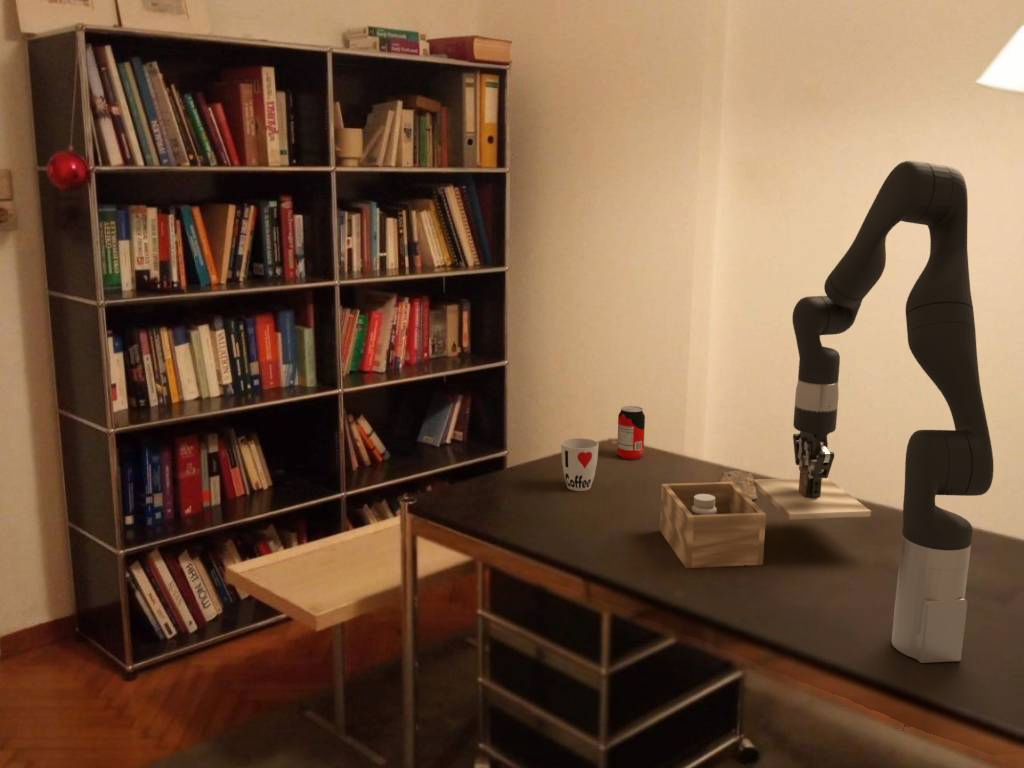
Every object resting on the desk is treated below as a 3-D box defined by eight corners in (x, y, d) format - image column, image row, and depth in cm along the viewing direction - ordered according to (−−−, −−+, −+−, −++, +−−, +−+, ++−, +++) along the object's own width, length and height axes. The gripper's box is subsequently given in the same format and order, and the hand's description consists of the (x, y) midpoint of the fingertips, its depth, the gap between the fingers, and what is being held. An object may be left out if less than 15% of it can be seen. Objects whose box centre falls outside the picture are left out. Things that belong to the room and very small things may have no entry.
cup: (556, 491, 215) (557, 446, 213) (565, 479, 223) (566, 436, 220) (593, 495, 213) (594, 450, 211) (601, 483, 220) (602, 439, 218)
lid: (870, 516, 178) (873, 484, 176) (789, 519, 176) (791, 487, 175) (826, 481, 196) (828, 452, 195) (752, 484, 194) (754, 455, 193)
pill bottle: (715, 544, 186) (717, 502, 184) (689, 542, 187) (691, 500, 185) (715, 535, 191) (717, 493, 189) (690, 533, 191) (692, 492, 190)
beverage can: (648, 458, 239) (650, 409, 236) (627, 462, 236) (629, 413, 233) (632, 451, 244) (634, 404, 241) (611, 455, 241) (613, 407, 238)
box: (762, 564, 177) (766, 514, 175) (685, 568, 175) (688, 517, 173) (729, 527, 194) (732, 481, 192) (659, 530, 193) (661, 483, 191)
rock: (711, 487, 219) (718, 494, 209) (718, 462, 218) (725, 467, 209) (749, 498, 218) (758, 505, 208) (756, 472, 218) (766, 478, 208)
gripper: (852, 413, 176) (844, 506, 179) (820, 394, 189) (813, 481, 193) (811, 414, 175) (804, 507, 179) (782, 395, 188) (776, 482, 192)
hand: (809, 493), depth 186 cm, fingers closed on lid, 3 cm apart
